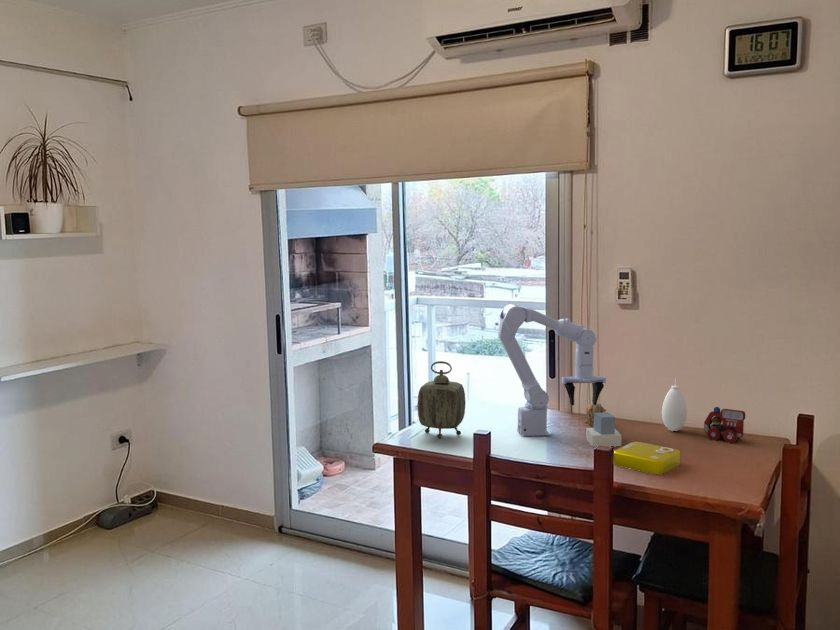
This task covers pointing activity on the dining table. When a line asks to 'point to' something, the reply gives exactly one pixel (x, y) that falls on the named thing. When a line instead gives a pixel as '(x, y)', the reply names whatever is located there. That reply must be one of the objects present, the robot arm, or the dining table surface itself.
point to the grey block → (604, 423)
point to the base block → (603, 438)
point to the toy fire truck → (725, 424)
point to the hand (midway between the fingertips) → (583, 404)
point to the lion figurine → (591, 410)
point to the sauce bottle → (674, 409)
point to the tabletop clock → (441, 403)
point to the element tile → (647, 457)
